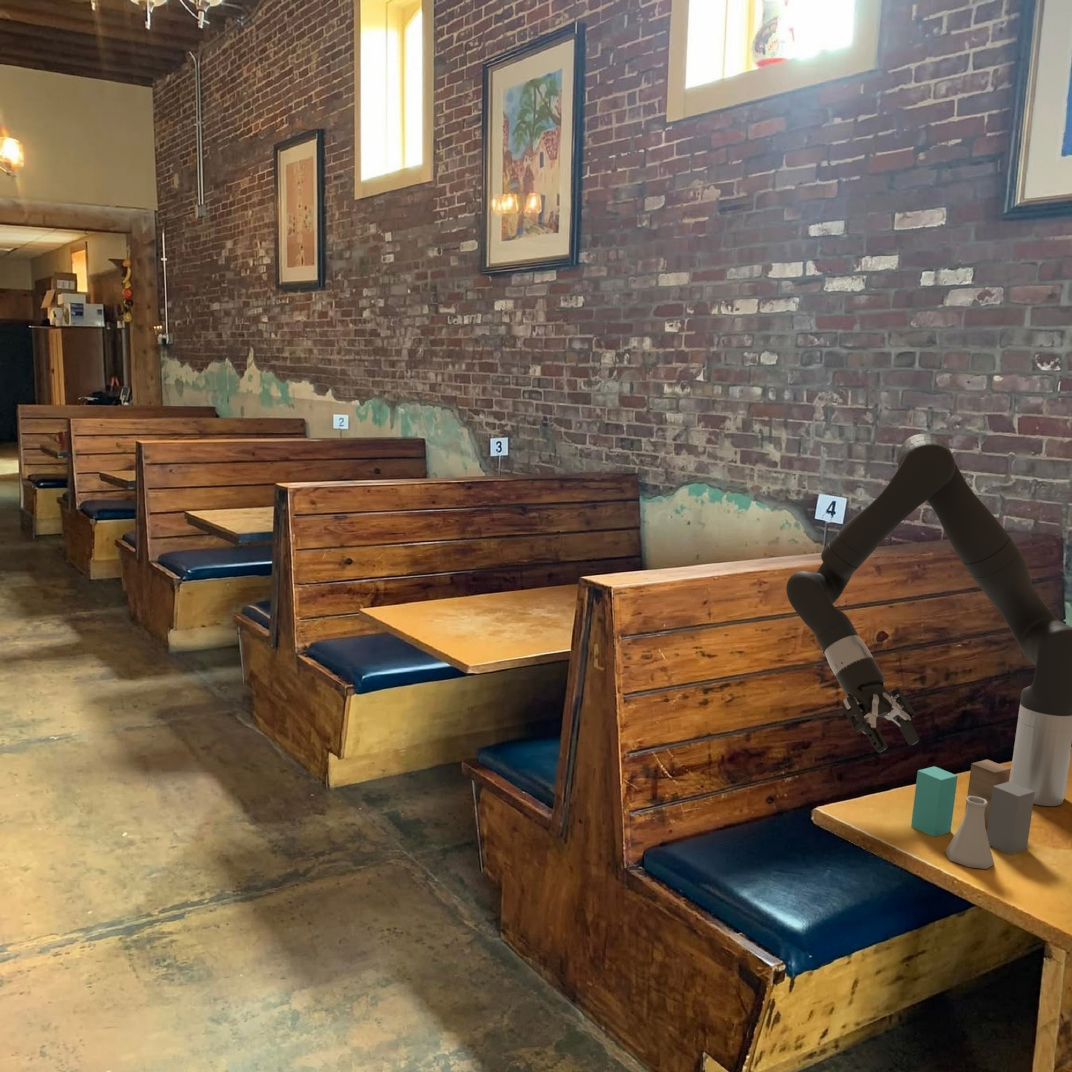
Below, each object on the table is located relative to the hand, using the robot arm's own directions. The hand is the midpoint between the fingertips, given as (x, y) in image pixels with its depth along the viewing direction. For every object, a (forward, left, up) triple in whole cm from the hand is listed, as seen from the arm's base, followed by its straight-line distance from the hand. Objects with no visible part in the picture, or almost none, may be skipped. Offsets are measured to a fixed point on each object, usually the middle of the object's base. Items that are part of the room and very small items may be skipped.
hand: (899, 746), depth 174 cm
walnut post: (-12, +10, -12) cm, 20 cm away
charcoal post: (-6, +18, -12) cm, 22 cm away
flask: (+4, +18, -12) cm, 22 cm away
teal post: (0, +8, -12) cm, 14 cm away
